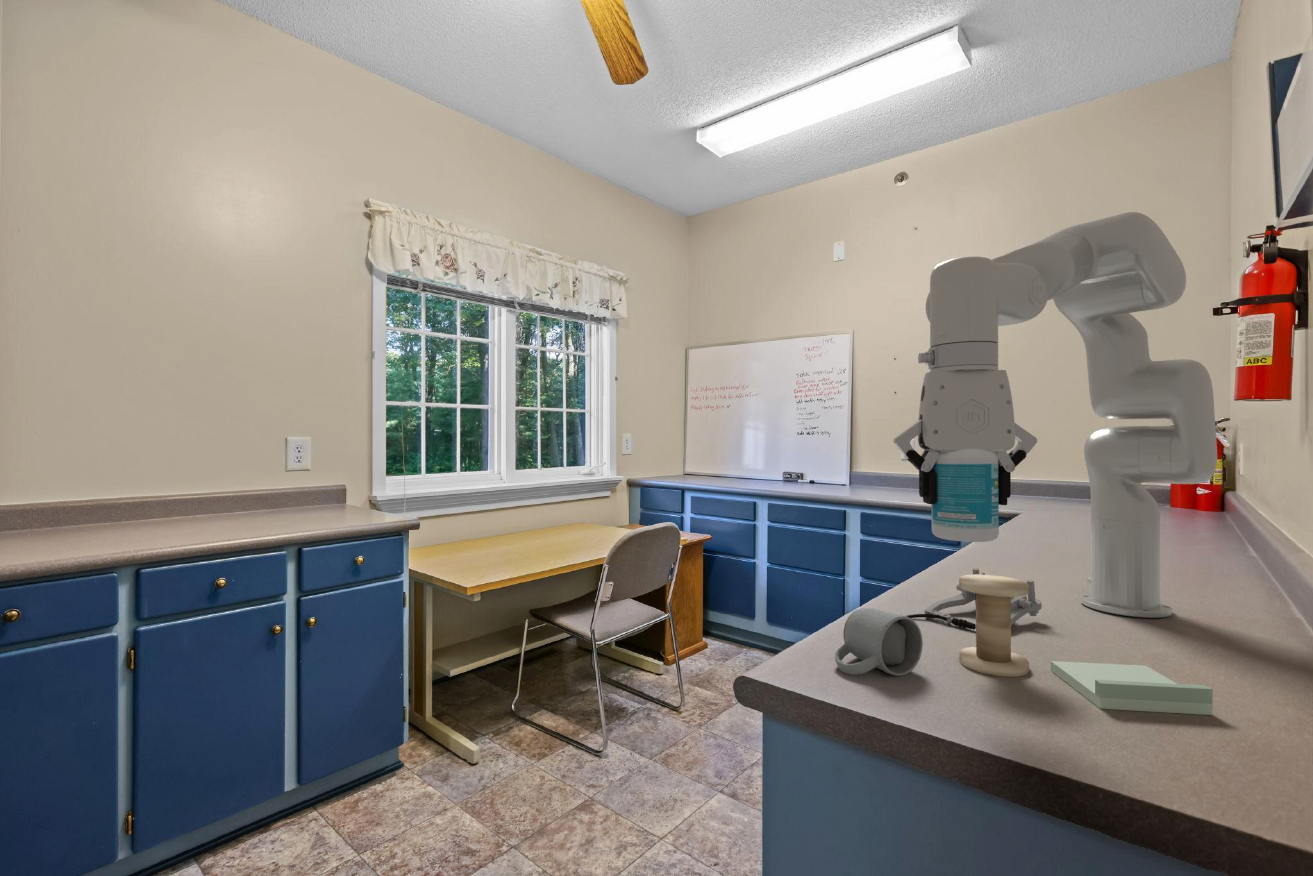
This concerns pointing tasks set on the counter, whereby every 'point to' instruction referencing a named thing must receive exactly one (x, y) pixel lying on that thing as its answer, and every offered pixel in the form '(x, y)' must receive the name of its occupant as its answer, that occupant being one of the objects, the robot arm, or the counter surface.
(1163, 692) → the board
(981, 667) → the bobbin
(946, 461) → the pill bottle
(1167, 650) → the counter surface
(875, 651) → the ceramic mug
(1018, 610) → the bike brake
